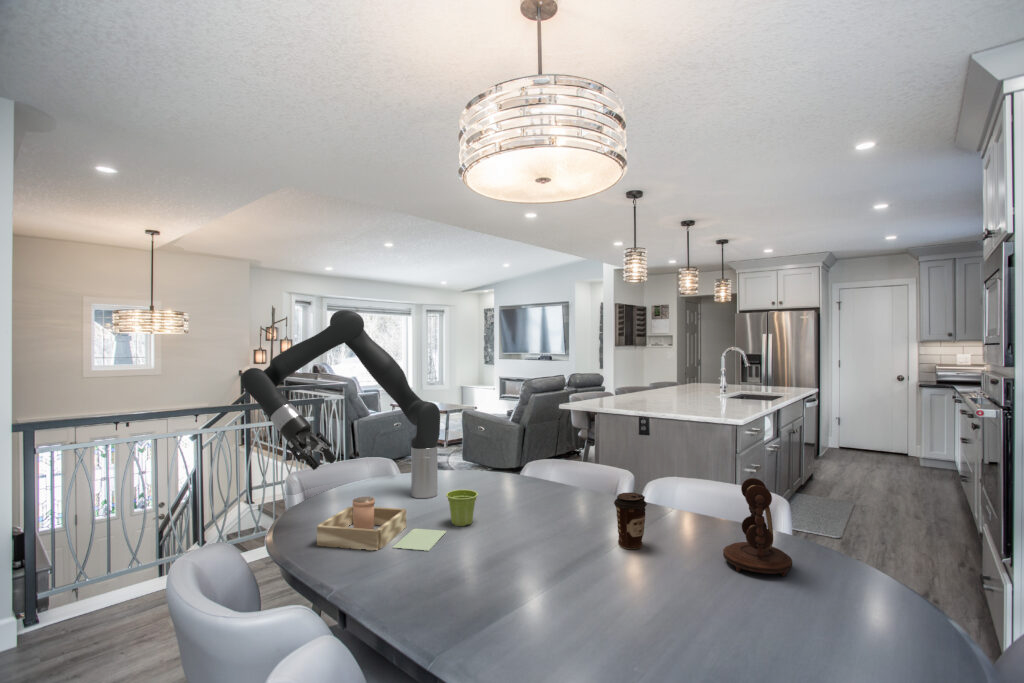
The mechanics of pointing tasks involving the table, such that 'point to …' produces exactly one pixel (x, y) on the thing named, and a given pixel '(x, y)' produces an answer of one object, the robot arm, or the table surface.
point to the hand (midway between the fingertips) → (325, 464)
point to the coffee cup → (630, 519)
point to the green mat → (420, 539)
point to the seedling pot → (363, 512)
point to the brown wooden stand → (757, 535)
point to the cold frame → (342, 536)
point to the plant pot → (462, 506)
